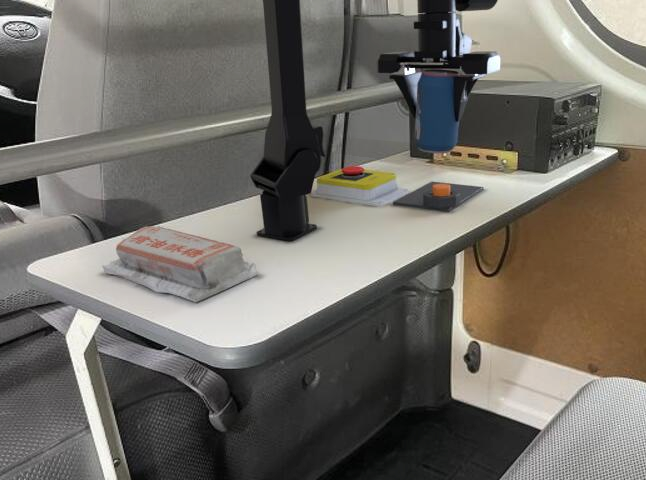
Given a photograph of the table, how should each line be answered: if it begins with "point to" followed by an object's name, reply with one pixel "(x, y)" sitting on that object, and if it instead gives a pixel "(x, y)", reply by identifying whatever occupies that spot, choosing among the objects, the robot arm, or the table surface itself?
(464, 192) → the scale
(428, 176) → the table surface
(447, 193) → the button
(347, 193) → the emergency button
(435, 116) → the soda can
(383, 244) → the table surface
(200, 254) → the packaged product
